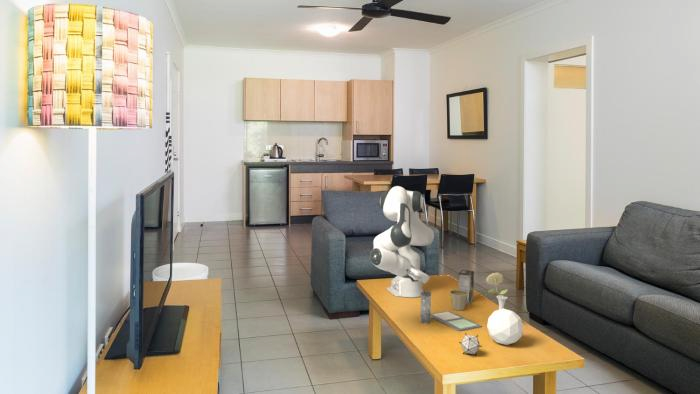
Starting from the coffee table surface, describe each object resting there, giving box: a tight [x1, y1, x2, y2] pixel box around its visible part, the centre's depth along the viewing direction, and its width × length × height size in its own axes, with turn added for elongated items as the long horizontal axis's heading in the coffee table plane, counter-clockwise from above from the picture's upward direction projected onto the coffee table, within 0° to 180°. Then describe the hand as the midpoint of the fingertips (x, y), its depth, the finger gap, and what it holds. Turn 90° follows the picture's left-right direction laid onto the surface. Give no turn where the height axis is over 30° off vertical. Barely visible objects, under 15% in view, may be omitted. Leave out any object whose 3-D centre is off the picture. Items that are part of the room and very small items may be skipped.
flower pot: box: [449, 289, 468, 312], centre depth 262 cm, size 9×9×9 cm
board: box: [430, 310, 483, 332], centre depth 243 cm, size 24×13×1 cm, turn 27°
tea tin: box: [420, 291, 432, 325], centre depth 241 cm, size 5×5×14 cm
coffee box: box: [457, 269, 475, 305], centre depth 275 cm, size 9×6×16 cm
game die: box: [459, 332, 483, 357], centre depth 204 cm, size 9×8×10 cm
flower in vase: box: [485, 272, 508, 310], centre depth 237 cm, size 13×11×25 cm
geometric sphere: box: [486, 308, 524, 346], centre depth 216 cm, size 14×15×15 cm
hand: (421, 273), depth 233 cm, fingers open, 8 cm apart
